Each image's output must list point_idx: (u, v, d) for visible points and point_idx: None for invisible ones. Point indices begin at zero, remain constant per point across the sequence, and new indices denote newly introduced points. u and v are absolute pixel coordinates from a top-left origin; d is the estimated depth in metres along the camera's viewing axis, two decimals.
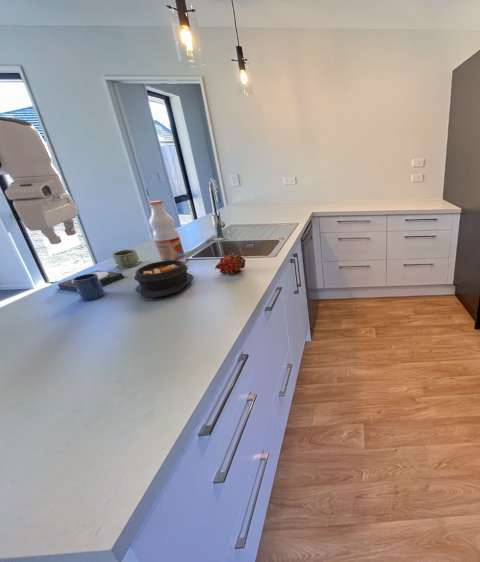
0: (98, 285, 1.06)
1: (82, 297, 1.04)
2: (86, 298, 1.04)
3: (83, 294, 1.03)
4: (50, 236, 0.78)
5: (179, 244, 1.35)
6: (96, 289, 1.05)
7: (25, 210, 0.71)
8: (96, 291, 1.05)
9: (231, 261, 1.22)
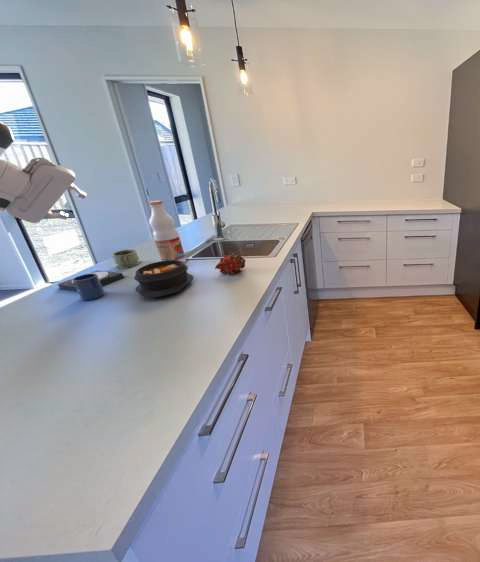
0: (98, 285, 1.06)
1: (82, 297, 1.04)
2: (86, 298, 1.04)
3: (83, 294, 1.03)
4: None
5: (179, 244, 1.35)
6: (96, 289, 1.05)
7: None
8: (96, 291, 1.05)
9: (231, 261, 1.22)
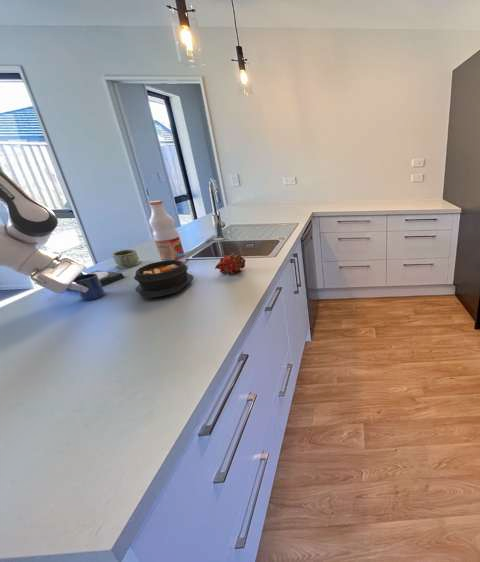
0: (98, 285, 1.06)
1: (82, 297, 1.04)
2: (86, 298, 1.04)
3: (83, 294, 1.03)
4: None
5: (179, 244, 1.35)
6: (96, 289, 1.05)
7: None
8: (96, 291, 1.05)
9: (231, 261, 1.22)
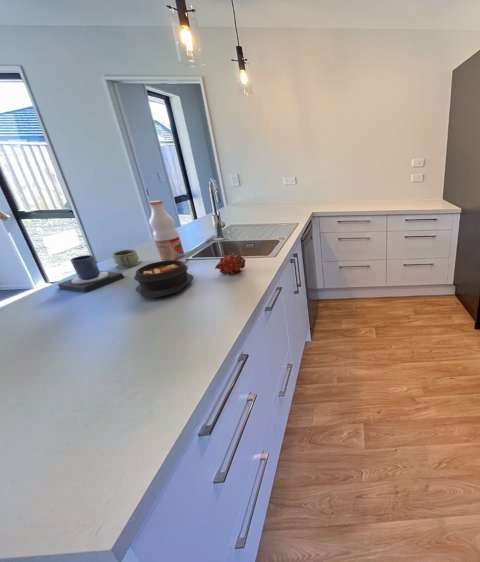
0: (94, 265, 1.16)
1: (79, 276, 1.14)
2: (83, 277, 1.14)
3: (80, 273, 1.14)
4: None
5: (179, 244, 1.35)
6: (92, 269, 1.15)
7: None
8: (92, 271, 1.16)
9: (231, 261, 1.22)
